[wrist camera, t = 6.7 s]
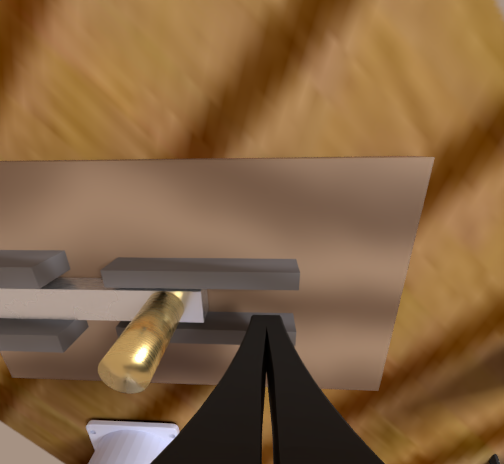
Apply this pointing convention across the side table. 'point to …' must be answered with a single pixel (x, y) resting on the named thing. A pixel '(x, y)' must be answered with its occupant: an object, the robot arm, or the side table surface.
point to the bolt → (114, 309)
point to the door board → (216, 256)
